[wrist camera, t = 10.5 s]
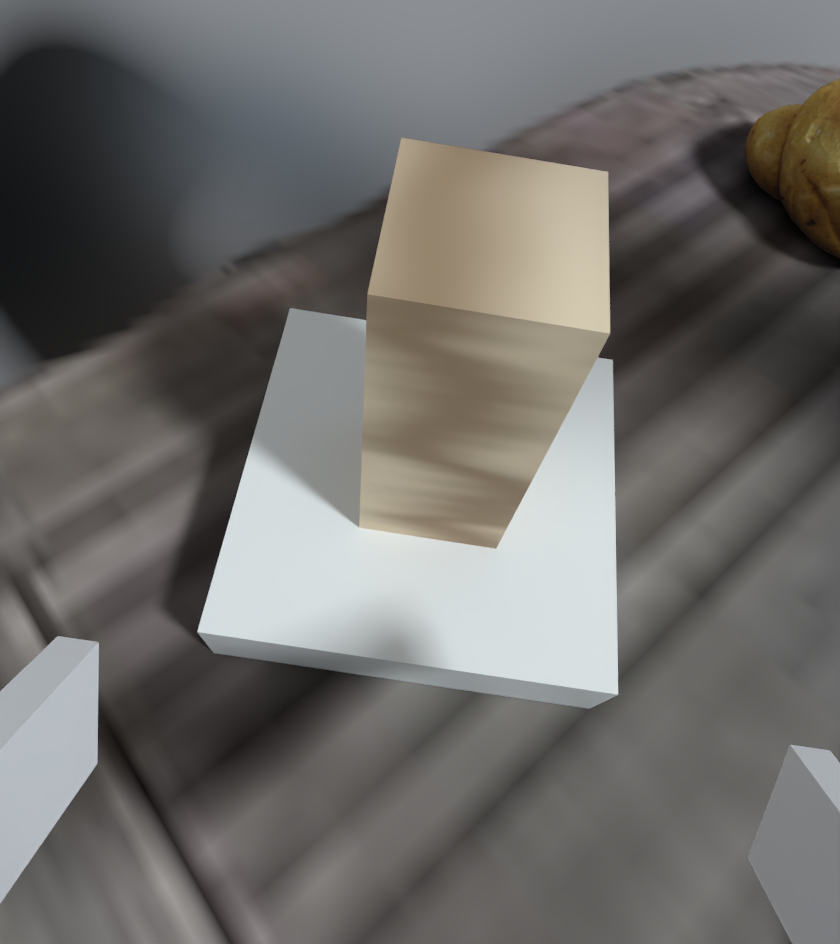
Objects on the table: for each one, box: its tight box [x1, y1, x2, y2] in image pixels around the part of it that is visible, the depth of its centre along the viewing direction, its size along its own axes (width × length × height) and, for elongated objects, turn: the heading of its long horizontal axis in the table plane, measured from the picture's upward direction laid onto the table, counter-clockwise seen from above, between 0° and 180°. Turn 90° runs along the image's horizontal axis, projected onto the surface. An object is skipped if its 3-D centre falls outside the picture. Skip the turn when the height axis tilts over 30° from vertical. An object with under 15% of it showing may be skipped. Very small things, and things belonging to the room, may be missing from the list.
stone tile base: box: [197, 308, 618, 709], centre depth 27 cm, size 14×14×3 cm
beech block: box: [359, 138, 610, 549], centre depth 20 cm, size 5×5×12 cm
